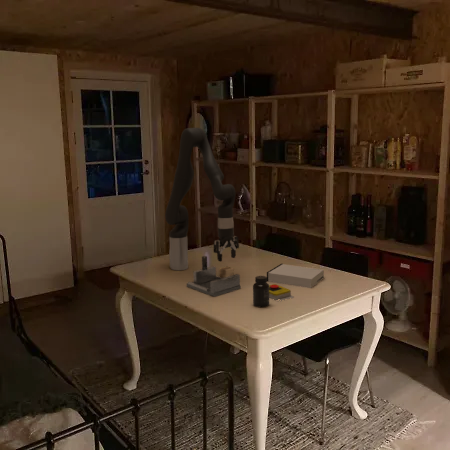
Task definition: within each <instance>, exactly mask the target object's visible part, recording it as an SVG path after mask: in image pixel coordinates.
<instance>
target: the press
mask: <svg viewBox="0 0 450 450" xmlns="http://www.w3.org/2000/svg"><path fill="white" fill-rule="evenodd" d="M240 279H241V275H240V274H239V273H237V274H236V273H234V275H232V276H228V277H225V278H222V277H220V276H218V275H216V279H214V280H211V281H207V282H204V283H200V284H195V283H194V281H187V283H186V288H190V289H193V290H194V291H197V292H200V293H203V294H206V295H208V296H211V297H214V298H216V297H218V296H222V295H225V294H228V293H231V292H235V291H237V290H241V289H242V288H241V280H240Z"/></svg>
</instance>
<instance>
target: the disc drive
mask: <svg viewBox="0 0 450 450" xmlns="http://www.w3.org/2000/svg"><path fill="white" fill-rule="evenodd" d="M324 272H325V270H324V269H323V268H322V269H321V268H315V267H306V266H300V265H292V264H284V263H280V264H277V266H275V267H273V268H272V269H270V270H268V271H266V277H267V282H266V283H268V282H270V283H273V284H275V283H276V284H282V285H289V286H293V287H294V286H295V287H300V286H301V287H302V288H307V289H312V288H314V286H316V285H317V284H319V282H321V281H322V280H323V279H325V278H324V277H325V276H324V275H325V273H324Z"/></svg>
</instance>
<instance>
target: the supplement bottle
mask: <svg viewBox="0 0 450 450" xmlns="http://www.w3.org/2000/svg"><path fill="white" fill-rule="evenodd" d="M254 280H255V282H254V283H253V284H252V304H253V306H255V307H257V308H266V307H269V305H270V298H269V285H270V284H269V283H268V282H267V275H266V276H265V275H256V276H255V279H254Z"/></svg>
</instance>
